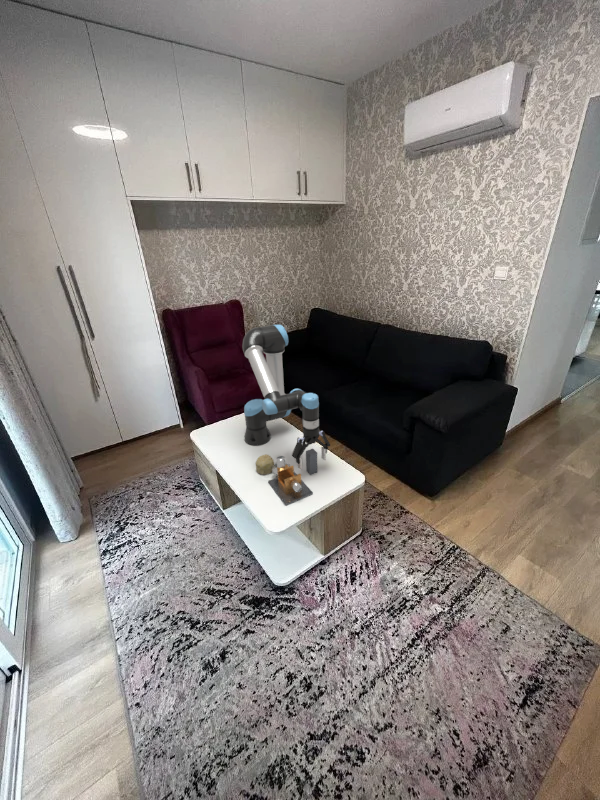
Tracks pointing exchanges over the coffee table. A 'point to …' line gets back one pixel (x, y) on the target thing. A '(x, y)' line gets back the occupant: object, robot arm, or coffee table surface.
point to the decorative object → (264, 464)
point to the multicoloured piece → (288, 483)
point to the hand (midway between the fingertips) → (311, 463)
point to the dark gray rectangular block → (311, 461)
